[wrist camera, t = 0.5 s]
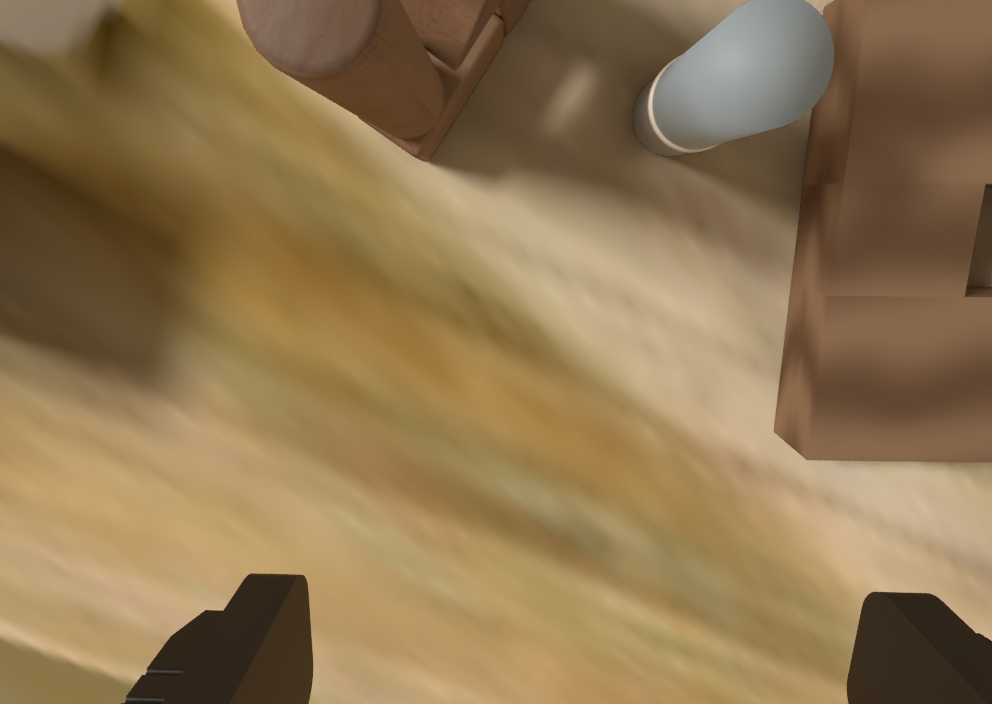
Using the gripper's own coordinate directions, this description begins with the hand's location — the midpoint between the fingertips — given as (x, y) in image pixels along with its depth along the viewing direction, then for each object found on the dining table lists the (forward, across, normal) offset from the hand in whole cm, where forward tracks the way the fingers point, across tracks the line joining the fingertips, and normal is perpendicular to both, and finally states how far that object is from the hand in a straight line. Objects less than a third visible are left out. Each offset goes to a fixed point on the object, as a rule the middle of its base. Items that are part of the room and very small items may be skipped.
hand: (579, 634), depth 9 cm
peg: (+26, -7, -10) cm, 29 cm away
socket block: (+26, -23, -4) cm, 35 cm away
